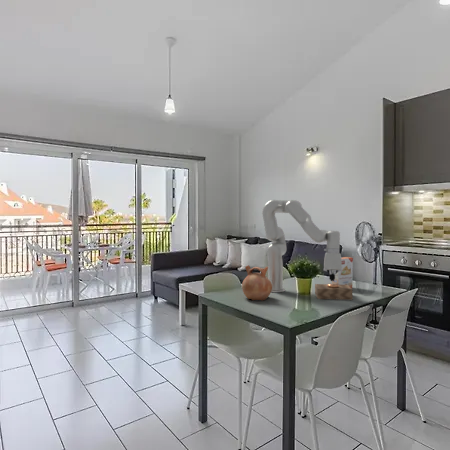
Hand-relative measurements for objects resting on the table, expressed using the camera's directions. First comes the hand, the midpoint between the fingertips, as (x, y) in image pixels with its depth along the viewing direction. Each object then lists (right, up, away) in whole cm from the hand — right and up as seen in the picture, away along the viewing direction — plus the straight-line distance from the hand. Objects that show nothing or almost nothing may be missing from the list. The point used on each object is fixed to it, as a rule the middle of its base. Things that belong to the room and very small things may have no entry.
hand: (332, 280), depth 217 cm
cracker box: (+14, -9, +22) cm, 28 cm away
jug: (-46, -10, -3) cm, 48 cm away
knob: (+1, -9, 0) cm, 9 cm away
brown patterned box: (+1, -10, 0) cm, 10 cm away
